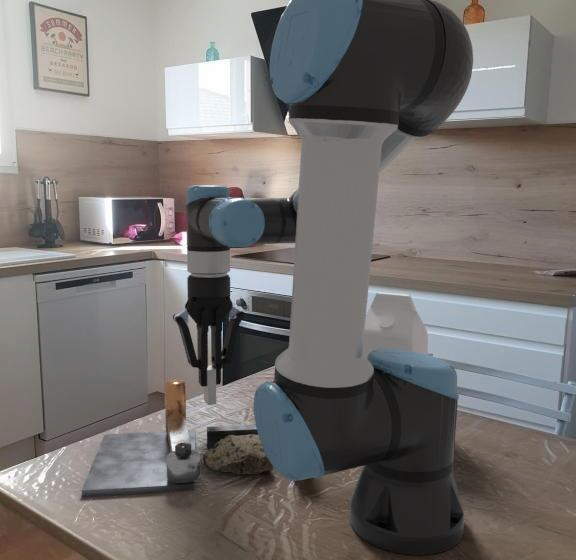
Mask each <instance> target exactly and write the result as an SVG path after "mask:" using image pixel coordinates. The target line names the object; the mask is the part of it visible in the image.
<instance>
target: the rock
mask: <svg viewBox="0 0 576 560" xmlns="http://www.w3.org/2000/svg"><path fill="white" fill-rule="evenodd" d="M202 462H203V464H204V465H205V466H207V467H210V469H212V470H214V471H218V472H222V473H228V472H232V473H234V474H236V475H247V474H248V475H250V476H251V475H257V474H261V473H262V472H267V471H272V469H274V467H273V466H272V464H271V463H270V461H269V459H268V457H267V455H266V453H265V451H264V449H263V446H262V444H261V441H260V438H259V435H254V434H253V435H250V434H249V435H241V436H234V435H228V436H227V437H226V438H225V439H221V440H220V441H219V442H217V443H215V445H214V447H213V448H208V449H207V450H205V451H204V453H203V454H202Z"/></svg>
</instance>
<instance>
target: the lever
mask: <svg viewBox="0 0 576 560" xmlns="http://www.w3.org/2000/svg"><path fill="white" fill-rule="evenodd" d="M186 388H187V387H186V380H184V379H178V378H176V379H174V378H173V379H169V380H166V381H165V382H164V406H165V407H164V409H165V410H164V413H165V417H164V418H165V432H166V433H167V434H168V439H169V446H170V453H169V454H168V455H167V478H168V480H170V481H172V482H175V483H188V482H192V481H194V482H195V481H196V480H198V479H199V478H200V476H201V453H200V452H199V451H197V450H196V449H195V450H192V446H191V455H190V456H188V457H177V456H176V455H175V446H176V445H177V444H180V443H189V444H191V442H190V437H189V433H188V431H189V430H188V425H187V403H186V402H187V401H186V400H187V395H186V394H187V393H186V390H187V389H186Z"/></svg>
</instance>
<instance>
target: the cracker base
mask: <svg viewBox="0 0 576 560" xmlns="http://www.w3.org/2000/svg"><path fill="white" fill-rule="evenodd" d="M188 433H189V437H190V442H191V444H189V443H180V444H177V445H176V446H175V455H176V456H177V457H188V456H190V455H191V446H192V450H195V451H196V441H197V431H196V430H194V429H193V430H192V429H191V430H188ZM249 434H250V435H253V434H254V435H258V431H257V428H256V424H245V425H243V424H242V425H241V424H240V425H219V426H218V425H217V426H206V448H207V449H212V448H213V447H214V445H215V443H217V442H219V441H220V440H221V439H225V438H226V437H227V436H228V435H234V436H241V435H249ZM169 453H170V446H169V439H168V434H167V433H166V431H151V432H130V433H128V432H126V433H105V434H104V435H103V437H102V440H101V442H100V444H99V447H98V449H97V453H96V454H95V458H94V459H93V461H92V464H91V466H90V469H89V471H88V473H87V477H86V479H85V481H84V483H83V486H82V488H81V498H84V497H85V498H87V497H88V498H89V497H104V496H121V495H132V494H133V495H135V494H136V495H137V494H140V495H141V494H155V493H169V492H171V493H173V492H187V491H189V492H190V491H194V489H195V480H194V481H192V482H188V483H175V482H172V481H170V480H168V478H167V455H168V454H169Z"/></svg>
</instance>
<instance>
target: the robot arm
mask: <svg viewBox="0 0 576 560" xmlns="http://www.w3.org/2000/svg"><path fill="white" fill-rule="evenodd" d="M469 34H470V33H469V31H468V29H467V27H466V26H465V24H464V23H463V21H462V20H461V18H459V16H458V15H457V14H456V13H455V12H454V11H453V10H452V9H450V8H449V7H447V6H446V5H444V4H442V3H440V2H439V1H435V0H290V1H288V3H287V5H286V7H285V9H284V11H283V13H282V14H281V16H280V19H279V21H278V24H277V26H276V29H275V34H274V37H273V40H272V44H271V50H270V56H269V57H270V58H269V79H270V81H271V82H272V85H271V88H272V90H273V94H275V96H276V97H277V99H279V100H280V101H282V102H284V104H287V105H289V106H288V107H289V109H288V123H289V124H290V125H291V127H292V128H293V129H294V130H295V131H296V133H297V134H298V135H299V137H300V140H301V143H300V144H301V145H300V158H299V160H300V161H299V178H298V188H297V189H296V191H294V192H293V193H292V194H291V195H290V197H269V198H268V197H234V196H232V197H231V195H230V194H231V192H230V189H229V187H227V185H190V186H189V187H188V188H187V189H186V198H185V199H186V200H185V204H184V205H185V206H184V208H185V212H186V213H185V214H186V215H185V216H186V249H187V250H186V252H187V253H186V257H187V258H186V259H187V261H186V263H187V264H186V265H187V266H186V268H187V273H188V274H189V273H190V274H189V275H188V276H187V278H186V279H187V281H186V284H187V301H186V303H185V304H184V309H183V310H181V311H180V312H178V313H174V314H173V315H172V320H173V321H174V323H175V324H176V325H177V326H178V329H179V333H180V336H181V340H182V345H183V348H184V352H185V356H186V359H187V363H188V364H189V365H190V366H191V367H192V368H196V369H197V368H198V369H197V370H198V383H199V386H200V387H203V401H204V402H205V403H206V404H207V405H208V406H210V405H211V406H212V405H217V385H218V386H219V385H221V383H222V369H223V368H224V365H226V364H227V365H228V364H230V363H231V362H232V360H233V359H232V358H233V356H234V349H235V344H236V341H237V338H238V332H239V327H240V324H241V323H242V321H243V320H244V317H245V315H246V313H245V312H244V311H243V310H241V309H240V308H236V307H235V306H234V303H233V302H232V300H231V276H230V275H229V274H228V273H230V271H231V248H233V249H234V248H247V247H250V246H251V245H254V246H255V245H274V244H294V258H293V259H294V260H293V275H292V276H293V277H292V291H291V293H292V294H291V306H290V321H289V322H290V323H289V325H290V326H289V338H288V339H289V341H288V348H287V349H285V350H284V351H282V352H281V353H280V354H279V355H278V356H277V357H276V359H275V361H274V375H273V376H274V377H273V380H268V381H265V382H263V383H261V384H259V385H258V387H257V388H256V390H255V392H254V394H253V395H254V397H253V417H254V421H255V425H256V428H257V431H258V435H259V438H260V441H261V444H262V446H263V449H264V451H265V453H266V455H267V457H268V459H269V461H270V463H271V464H272V466H273V469H274V470H275V471H276V472H277V473H278V475H280V476H282V477H283V478H285V479H287V480H289V481H294V482H297V481H303V480H308V479H312V478H314V479H322V478H323V477H324V476H328V475H331V474H335V473H339V472H344V471H348V470H351V469H355V468H358V467H362V468H361V470H360V473H359V476H358V478H357V480H356V484H355V486H354V488H353V491H352V494H351V496H350V501H349V513H348V514H349V515H348V516H349V522H350V525H351V527H352V529H353V530H354V532H355V533H356V534H357V535H358V536H359V537H361V539H363V540H364V541H366V542H368V543H369V544H371V545H374V546H375V547H378V548H380V549H382V550H383V549H384V550H387V551H389V552H392V553H397V554H403V555H405V554H406V555H412V556H413V555H415V556H422V555H423V556H424V555H433V554H438V553H442V552H445V551H447V550H450V549H451V548H454V547H455V546H456V545H458V543H459V542H460V541H461V540H462V538H463V536H464V530H465V513H464V508H463V504H462V501H461V498H460V493H459V491H458V486H457V482H456V479H455V476H454V457H455V446H456V445H455V442H456V429H457V415H458V400H459V398H460V397H459V394H458V374H457V371H456V369H455V368H454V367H453V365H452V364H450V363H449V362H447V361H445V360H443V359H441V358H438V357H435V356H432V355H425V354H421V353H416V352H410V351H403V350H393V349H378V350H373V351H372V352H370V353H369V354H368V357H367V358H366V357H365V356H364V355H363V354H362V352H363V341H364V330H365V320H366V314H367V307H368V297H369V289H370V288H369V285H370V278H371V277H370V274H371V266H372V256H373V255H372V254H373V242H374V231H375V221H376V211H377V202H378V201H377V200H378V190H379V189H378V188H379V180H380V179H379V178H380V174H381V172H383V171H384V170H385V169H386V167H388V166H389V165H390V164H391V163H393V161H394V160H395V159H396V158H397V157H398V156H399V155H400V154H401V153H403V151H404V150H406V148H407V147H408V146H409V145H410V144H411V143H412V142H413V141H414V140H416V139H423V138H424V139H425V138H427V137H429V136H431V135H432V134H434V133H435V131H437V129H439V128H440V127H441V126H442V125H443V124H444V123H445V122H446V120H448V119H449V117H450V116H451V115H452V114H453V113H454V112H455V111H456V109H457V108H458V106H459V105H460V103H461V102H462V100H463V98H464V96H465V94H466V93H467V90H468V87H469V85H470V82H471V79H472V75H473V68H474V66H473V65H474V49H473V44H472V40H471V37H470V35H469ZM189 317H190V318H191V319H192V320H193V322H194V323H195V325H196V333H197V336H196V337H197V338H196V339H197V340H196V341H197V343H196V345H197V354H196V351H195V347H194V343H193V338H192V334H191V332H190V331H191V330H190V327H189V326H188V323H189V321H190V319H189ZM227 317H229V320H228V323H227V326H226V333H225V337H224V342H223V341H222V340H223V339H222V338H223V337H222V331H223V323H224V321H225V320H226V318H227ZM209 327H210V329H209ZM209 330H210V343H211V344H210V345H211V346H210V347H211V348H210V349H211V351H210V352H211V353H210V354H211V356H210V358H211V361H210V363H211V364H210V365H209V337H208V336H209V335H208V334H209ZM222 343H223V344H222Z"/></svg>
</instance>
